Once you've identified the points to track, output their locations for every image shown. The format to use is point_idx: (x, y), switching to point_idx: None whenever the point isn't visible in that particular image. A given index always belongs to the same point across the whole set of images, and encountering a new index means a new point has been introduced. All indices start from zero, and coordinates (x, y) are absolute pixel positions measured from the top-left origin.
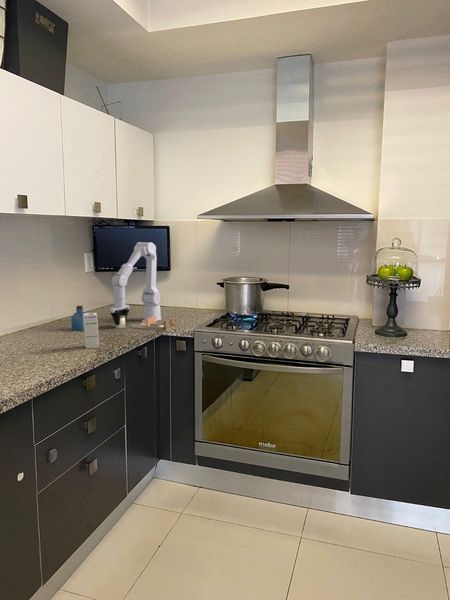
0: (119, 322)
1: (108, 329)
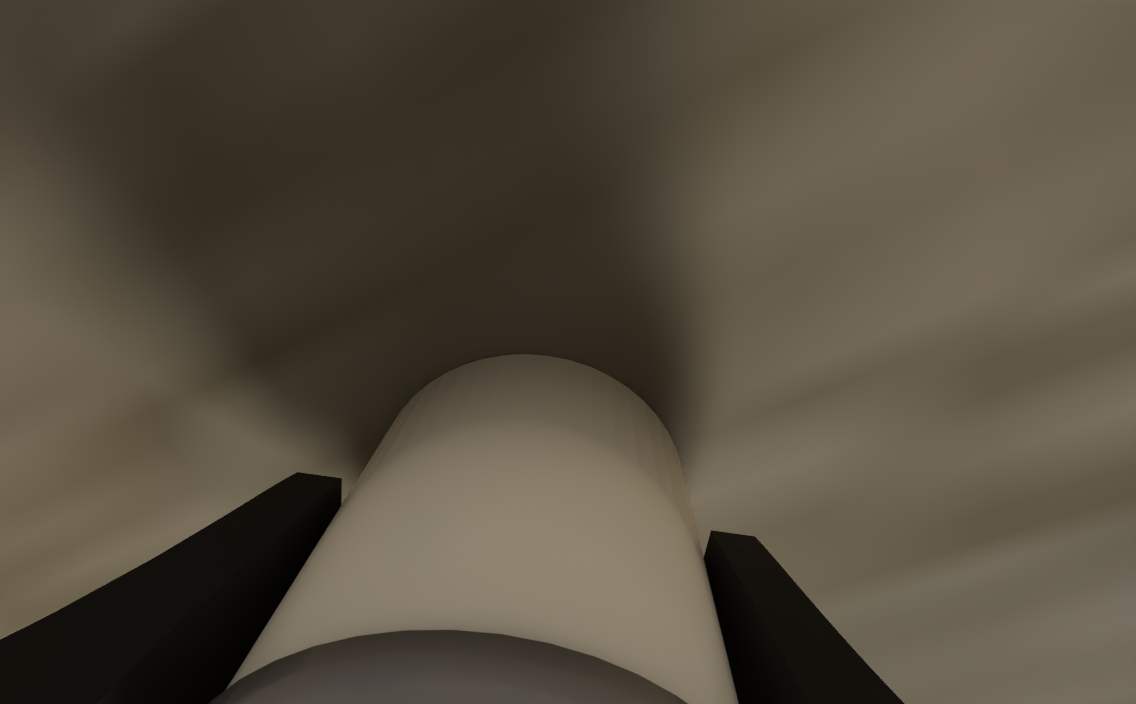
0: None
1: (78, 286)
